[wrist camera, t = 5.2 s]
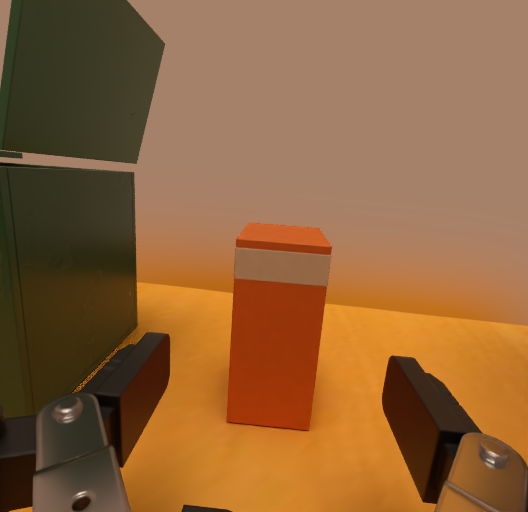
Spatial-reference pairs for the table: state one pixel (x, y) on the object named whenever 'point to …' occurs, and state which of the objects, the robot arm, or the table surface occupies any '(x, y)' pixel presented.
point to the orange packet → (276, 324)
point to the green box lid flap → (77, 79)
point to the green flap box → (62, 277)
